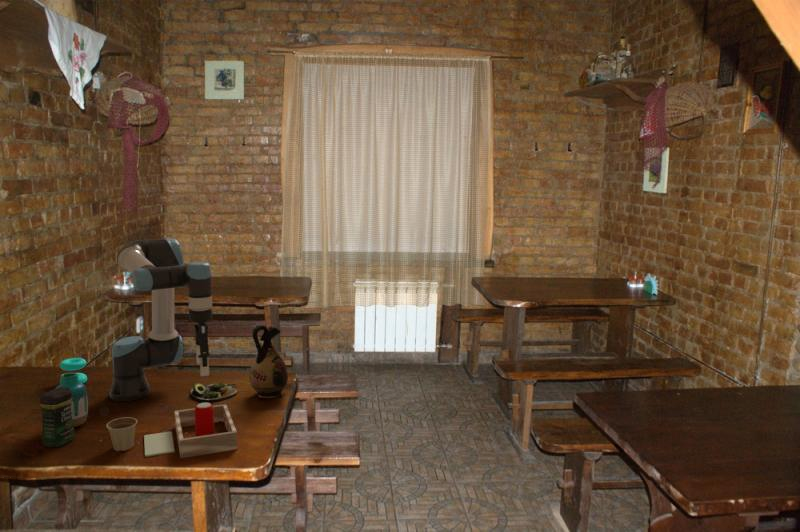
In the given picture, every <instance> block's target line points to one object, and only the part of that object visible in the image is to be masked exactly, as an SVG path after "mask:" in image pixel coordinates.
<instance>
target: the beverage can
mask: <svg viewBox="0 0 800 532" xmlns="http://www.w3.org/2000/svg"><path fill="white" fill-rule="evenodd" d="M213 406H214V405H212V404H211V402H200V403H198V404H197V405H196V406H195V425H194V426H195V431H194V432H195V437H198V436H205V435H212V434H215V422H214V409H213Z"/></svg>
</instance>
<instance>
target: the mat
mask: <svg viewBox="0 0 800 532" xmlns="http://www.w3.org/2000/svg"><path fill="white" fill-rule="evenodd" d="M143 440H144V458H147V457H153V456H161V455H167V454H173V453H175V452H176V450H175V443H174V438H173V431H164V432H159V433H158V432H156V433H150V434H145V435H144V436H143Z"/></svg>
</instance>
